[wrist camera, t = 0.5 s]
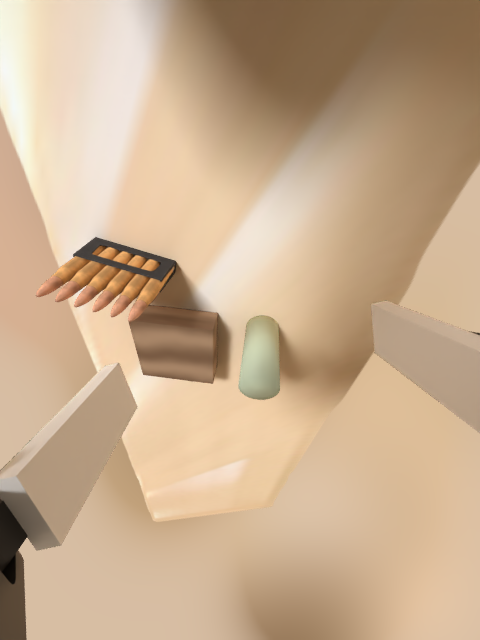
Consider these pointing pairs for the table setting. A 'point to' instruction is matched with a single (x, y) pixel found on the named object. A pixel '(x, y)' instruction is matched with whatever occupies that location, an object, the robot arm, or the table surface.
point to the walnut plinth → (176, 343)
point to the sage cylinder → (260, 359)
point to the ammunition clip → (111, 277)
